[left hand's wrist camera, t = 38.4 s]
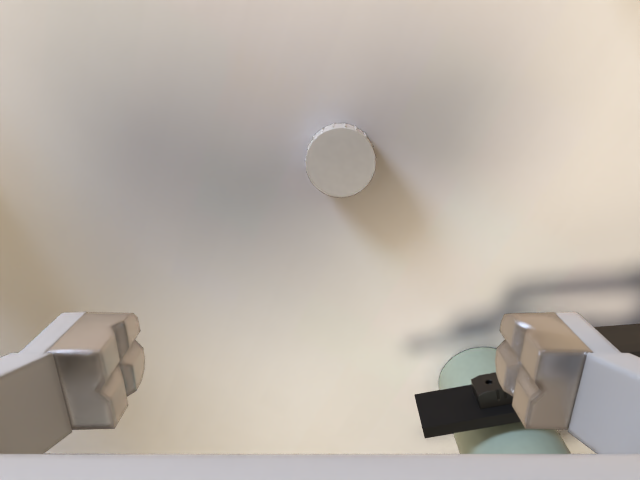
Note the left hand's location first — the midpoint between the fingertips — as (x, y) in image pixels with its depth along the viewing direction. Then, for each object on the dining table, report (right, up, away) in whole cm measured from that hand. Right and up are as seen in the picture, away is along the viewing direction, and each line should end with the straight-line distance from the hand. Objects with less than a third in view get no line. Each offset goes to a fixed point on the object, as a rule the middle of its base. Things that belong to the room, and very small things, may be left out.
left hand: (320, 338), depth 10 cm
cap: (+1, +7, +16) cm, 17 cm away
